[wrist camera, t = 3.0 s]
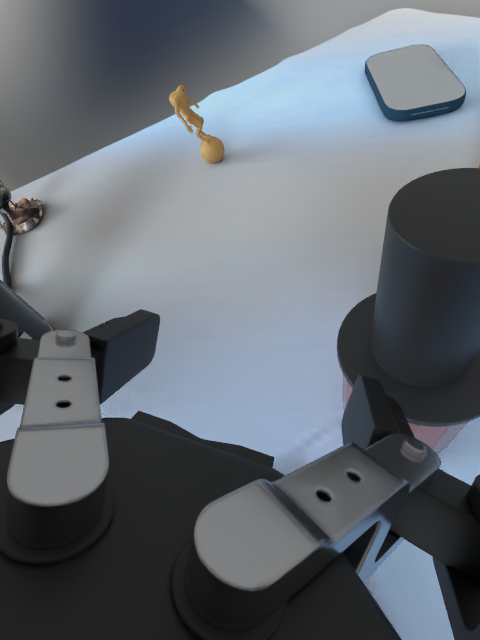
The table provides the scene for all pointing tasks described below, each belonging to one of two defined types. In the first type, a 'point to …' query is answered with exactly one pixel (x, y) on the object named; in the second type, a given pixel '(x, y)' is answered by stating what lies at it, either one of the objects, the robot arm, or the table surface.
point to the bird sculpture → (19, 212)
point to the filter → (424, 303)
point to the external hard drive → (413, 83)
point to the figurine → (211, 145)
